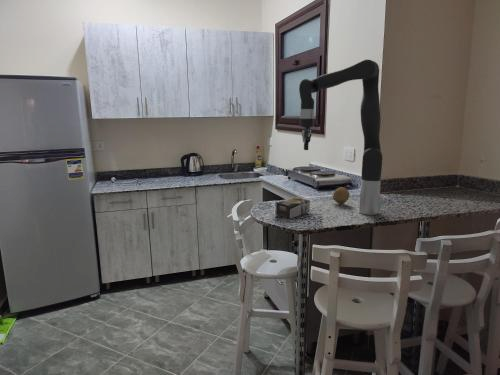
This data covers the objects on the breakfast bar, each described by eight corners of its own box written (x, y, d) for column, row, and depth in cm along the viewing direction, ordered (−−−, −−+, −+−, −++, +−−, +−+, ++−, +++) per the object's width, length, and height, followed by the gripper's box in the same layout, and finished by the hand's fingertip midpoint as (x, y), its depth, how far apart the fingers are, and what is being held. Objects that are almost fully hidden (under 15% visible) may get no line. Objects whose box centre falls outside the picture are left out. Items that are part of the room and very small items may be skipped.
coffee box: (310, 199, 180) (290, 206, 169) (309, 211, 182) (289, 219, 171) (295, 195, 186) (275, 202, 175) (295, 207, 188) (275, 214, 177)
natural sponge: (349, 206, 195) (350, 189, 193) (332, 206, 197) (333, 188, 195) (348, 203, 204) (349, 186, 202) (332, 202, 206) (333, 185, 204)
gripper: (317, 117, 186) (315, 151, 190) (310, 117, 199) (309, 149, 203) (302, 117, 186) (301, 151, 189) (297, 117, 199) (296, 149, 202)
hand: (306, 150), depth 196 cm, fingers closed
